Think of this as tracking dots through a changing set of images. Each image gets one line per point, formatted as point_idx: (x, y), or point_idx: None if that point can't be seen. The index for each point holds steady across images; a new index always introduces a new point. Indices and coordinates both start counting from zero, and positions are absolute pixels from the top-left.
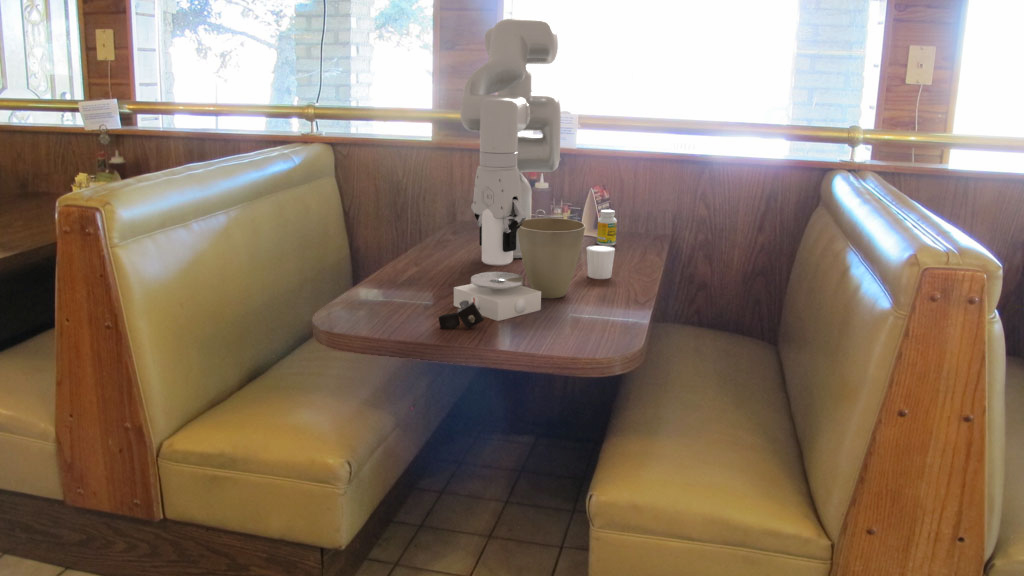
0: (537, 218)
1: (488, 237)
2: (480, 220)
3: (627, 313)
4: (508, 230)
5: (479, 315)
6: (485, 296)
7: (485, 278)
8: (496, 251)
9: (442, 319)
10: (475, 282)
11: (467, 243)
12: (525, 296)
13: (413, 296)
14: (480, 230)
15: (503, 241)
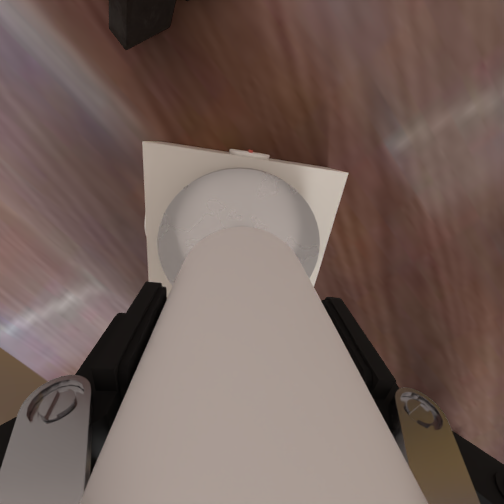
0: None
1: (234, 292)
2: (429, 443)
3: (44, 351)
4: (45, 400)
5: (110, 9)
6: (213, 161)
7: (265, 227)
8: (192, 265)
9: None
10: (261, 171)
11: (499, 443)
12: (148, 246)
13: (456, 160)
14: (372, 358)
15: (136, 315)
